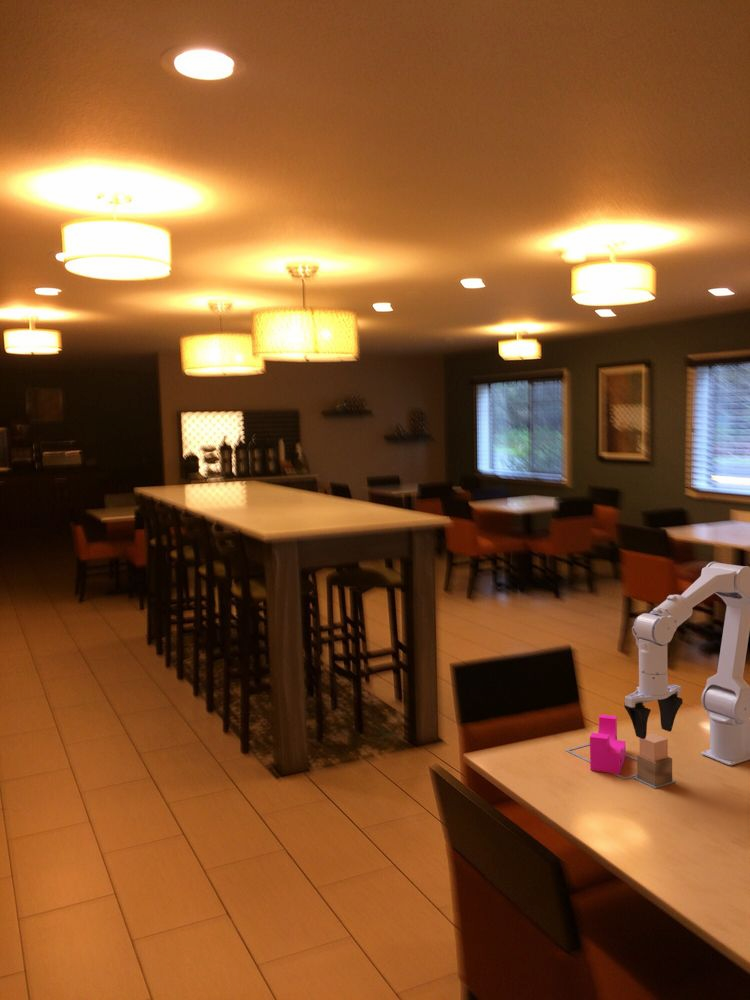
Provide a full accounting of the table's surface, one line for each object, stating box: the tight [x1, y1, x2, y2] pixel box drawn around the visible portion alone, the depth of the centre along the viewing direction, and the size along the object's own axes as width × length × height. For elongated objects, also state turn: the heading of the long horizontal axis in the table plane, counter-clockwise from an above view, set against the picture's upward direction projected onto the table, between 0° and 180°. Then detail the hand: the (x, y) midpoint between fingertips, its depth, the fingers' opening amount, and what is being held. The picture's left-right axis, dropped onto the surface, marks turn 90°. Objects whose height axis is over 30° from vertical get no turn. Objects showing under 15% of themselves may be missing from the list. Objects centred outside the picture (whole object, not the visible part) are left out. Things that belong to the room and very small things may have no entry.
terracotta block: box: [638, 732, 669, 761], centre depth 168 cm, size 4×4×4 cm
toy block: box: [589, 714, 627, 775], centre depth 179 cm, size 15×6×8 cm, turn 155°
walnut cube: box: [636, 754, 673, 786], centre depth 168 cm, size 5×5×5 cm
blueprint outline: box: [565, 743, 676, 790], centre depth 177 cm, size 10×25×1 cm, turn 28°
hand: (653, 733), depth 167 cm, fingers open, 7 cm apart
